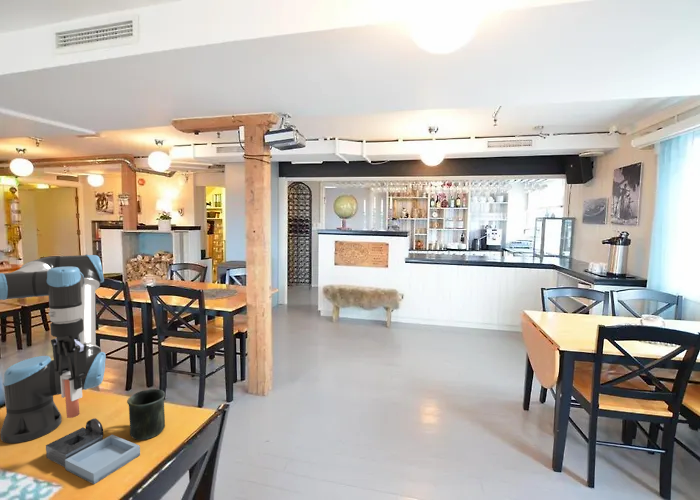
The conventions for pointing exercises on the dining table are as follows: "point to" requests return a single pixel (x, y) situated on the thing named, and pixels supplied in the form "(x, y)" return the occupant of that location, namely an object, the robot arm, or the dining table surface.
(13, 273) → the robot arm
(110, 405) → the dining table surface
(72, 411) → the pin
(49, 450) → the block
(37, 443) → the dining table surface
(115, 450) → the tray
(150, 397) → the mug
